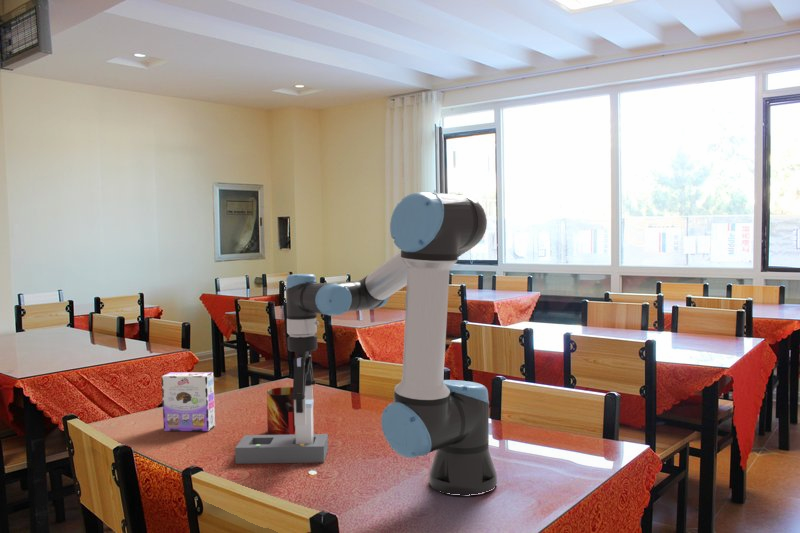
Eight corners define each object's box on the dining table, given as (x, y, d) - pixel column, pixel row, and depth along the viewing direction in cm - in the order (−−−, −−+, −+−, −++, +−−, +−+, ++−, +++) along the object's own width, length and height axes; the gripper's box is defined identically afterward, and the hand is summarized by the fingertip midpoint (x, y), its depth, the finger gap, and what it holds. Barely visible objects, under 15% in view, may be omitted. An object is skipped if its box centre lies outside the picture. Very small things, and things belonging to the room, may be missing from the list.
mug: (290, 442, 174) (289, 399, 173) (260, 432, 183) (259, 391, 183) (317, 434, 181) (317, 392, 181) (287, 425, 190) (286, 385, 190)
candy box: (216, 426, 190) (214, 371, 190) (208, 432, 184) (206, 375, 184) (171, 425, 192) (170, 371, 191) (162, 431, 186) (160, 375, 185)
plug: (312, 458, 161) (311, 403, 160) (295, 458, 161) (293, 404, 160) (314, 452, 166) (313, 399, 165) (297, 452, 166) (296, 399, 165)
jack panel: (324, 462, 158) (323, 445, 158) (235, 463, 158) (235, 446, 158) (328, 448, 168) (327, 432, 168) (244, 450, 168) (244, 434, 168)
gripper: (310, 342, 149) (312, 431, 150) (322, 327, 174) (324, 404, 175) (278, 342, 149) (280, 432, 150) (295, 328, 174) (297, 404, 175)
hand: (304, 417), depth 163 cm, fingers open, 13 cm apart
